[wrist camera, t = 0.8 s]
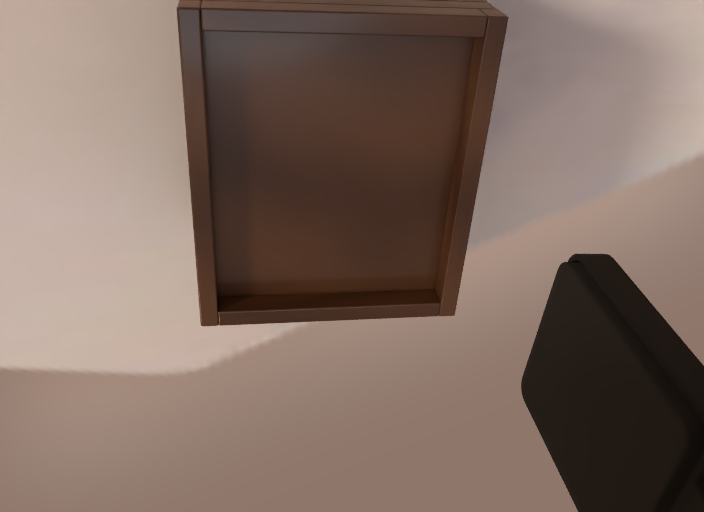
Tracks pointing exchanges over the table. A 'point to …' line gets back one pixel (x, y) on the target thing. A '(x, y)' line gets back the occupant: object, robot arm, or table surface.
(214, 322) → the rack
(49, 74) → the table surface
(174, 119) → the table surface
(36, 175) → the table surface
